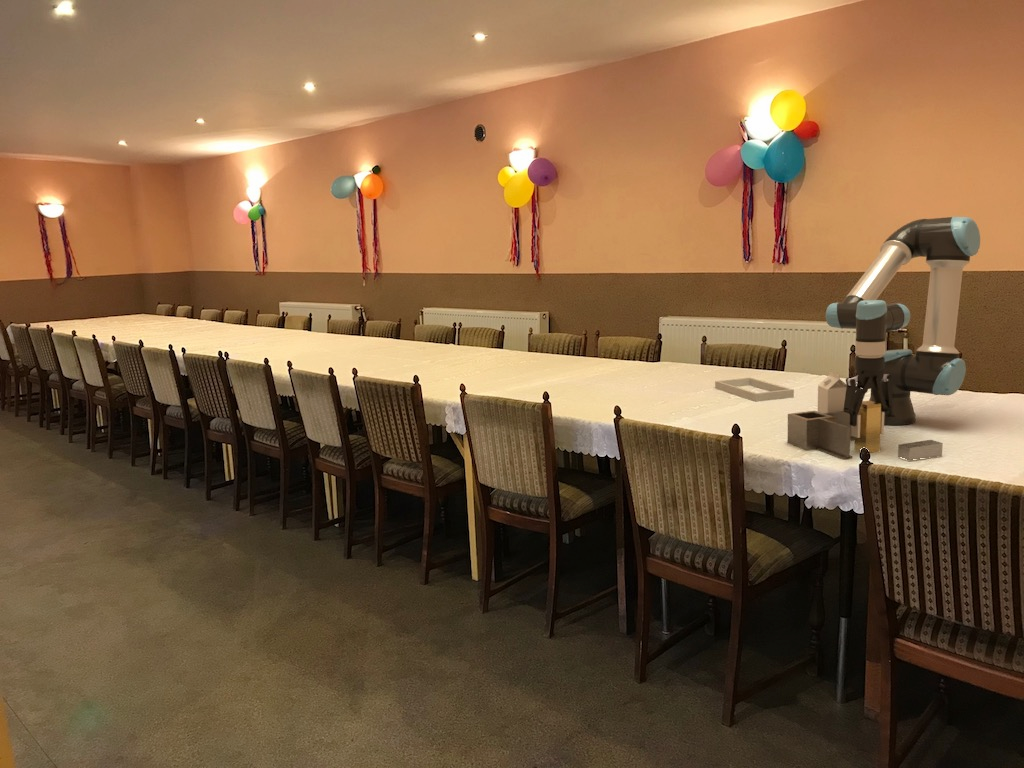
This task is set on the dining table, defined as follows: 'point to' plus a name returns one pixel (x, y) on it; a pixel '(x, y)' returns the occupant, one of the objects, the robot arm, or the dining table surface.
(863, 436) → the tall golden block
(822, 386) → the milk carton
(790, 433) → the brown box with panels
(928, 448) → the bar
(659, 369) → the dining table surface
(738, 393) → the parts tray frame
